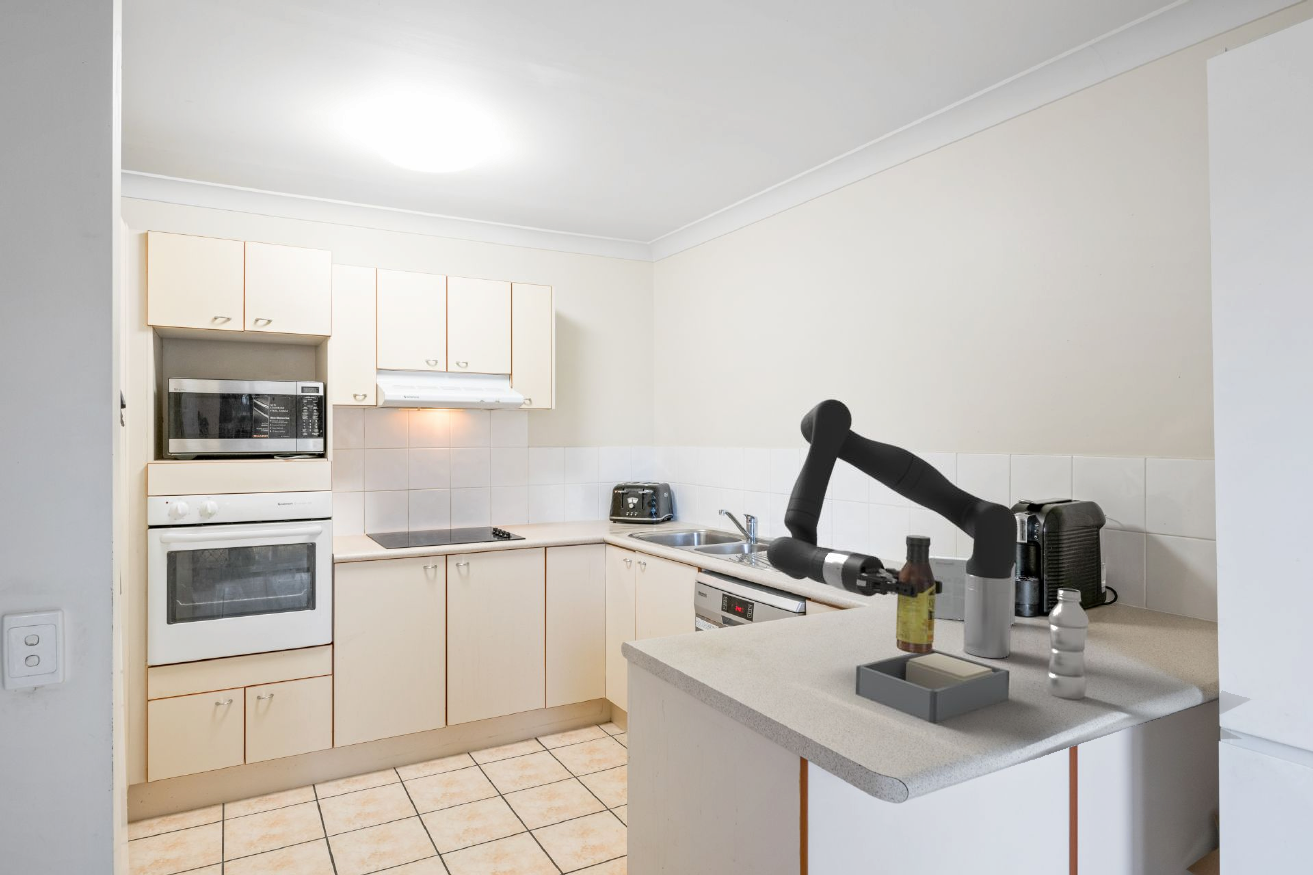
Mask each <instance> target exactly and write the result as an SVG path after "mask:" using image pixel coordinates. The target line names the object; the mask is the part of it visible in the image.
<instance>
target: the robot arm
mask: <svg viewBox="0 0 1313 875" xmlns="http://www.w3.org/2000/svg"><path fill="white" fill-rule="evenodd" d="M852 419H853V418H852V413H851V411H850V409H849V408H848V406H847V405H846V404H845V403H843V402H842V401H841V400H837V399H831V398H830V399H825V400H823V401H821V402H819V403H818V404H816V405H814V407H813V408H811V409H810V410H809V412H807V413H806V415H804V416H803V417H802V420H801V422H800V431H801V435H802V436H803V438H804V440H805V441H806V442H807V443H808V444H809V445H810V446H809V448H808V453H807V454H806V458H805V462H804V463H803V465H802V468H801V470H800V472H799V474H798V476H797V479H796V480H795V483H794V485H793V488H792V491H791V492H790V497H789V499H788V504H787V507H786V510H785V514H784V520H783V523H784V526H785V527H786V529H787V530H788V531H789V532H790V534H791V536H780V537H777V538H775V539H773V540H772V541H771V542H770V543H769V545H768V546H767V549H766V558H767V561H768V563H769V565H770V566H772V567H773V568H774V569H776V570H777V571H779V572H781V573H783V574H785V575H786V576H788V577H790V578H792V579H794V580H797V581H798V580H804V579H806V578H808V579H809V580H812V581H814V582H817V583H819V584H823V585H826V586H831V587H834V588H835V589H838V590H841V591H844V592H848V593H853V594H856V595H861V596H865V597H873V596H875V595H877V594H879V595H882V596H885V595H889V594H890V595H893V596H895V595H898V594H899V595H903V596H908V597H912V598H915V597H917V596H918V586H917V585H916V584H911V583H907V582H903V581H899V574H900V571H901V570H899V569H896V568H894V567H885V566H884V564H883V562H882V561H881V559H880V558H878V557H877V556H874V555H869V554H865V553H860V552H854V551H849V550H841V549H840V550H838V549H834V548H831V547H830V548H829V547H823V546H818V524H819V521H820V517H821V513H822V510H823V506H824V505H823V504H824V503H825V502H824V501H825V497H826V492H827V491H828V487H829V486H828V485H829V483H830V481H831V480H830V479H831V476H832V473H833V470H834V467H835V464H836V462H837V460H838V459H839V460H842V461H843V462H846V463H847V464H850V465H851V466H853V467H854V468H856V469H858V470H860V471H861V472H862V473H863V474H866V475H868V476H869V477H871V478H873V479H874V480H876V481H878V482H879V483H880V484H883V485H884V486H886V487H887V488H889V489H890V490H892V491H894V492H895V493H896V494H899V495H900V496H901V497H903V498H906V499H907V500H910V501H912V502H913V503H914V504H915V503H916V504H917V505H919V506H922V507H924V508H926V509H928V510H931V511H933V512H935V513H936V514H938V515H940V516H942V517H943V518H945V519H946V520H948V521H949V522H950V523H952V524H953V525H954V526H956V527H957V528H958V529H960V530H961V531H962V532H964V533H965V534H966V535H967V536H969V537H970V538H971V539H973V543H972V544H973V546H972V547H973V548H972V554H971V557H970V559H969V560H968V561H967V563H966V584H965V586H966V587H965V618H964V621H963V622H964V624H963V626H964V627H963V651H964V652H965V653H968V654H970V655H972V656H976V657H983V658H992V659H1002V658H1003V657H1004V658H1007V657H1009V654H1010V653H1011V638H1012V637H1011V634H1012V625H1011V610H1010V598H1011V571H1012V568H1013V566H1014V564H1015V563H1016V558H1017V546H1018V522H1017V518H1016V515H1015V513H1014V512H1013V511H1012V510H1011V509H1010V508H1009V507H1008V506H1007V505H1003V504H1000V503H996V502H993V501H987V500H984V499H982V498H980V497H977V496H975V495H973V494H971V493H969V492H968V491H965V490H963V489H961V488H959V487H958V486H956V485H955V484H954V483H952V482H951V481H950V480H949V479H948V478H947V477H946V476H944V475H943V474H942V473H941V471H939V470H938V469H937V468H936V467H934V466H933V465H932V464H930V463H929V462H928V461H926V460H924V459H923V458H921V457H919V456H917V455H916V454H914V453H912V452H911V451H909V450H907V449H905V448H902V447H900V446H896V445H893V444H890V443H889V444H888V443H885V442H880V441H876V440H874V439H870V438H867V437H864V436H862V435H860V434H859V433H857V432H855V431H853V430H852V429H851V428H852V422H853V421H852ZM935 582H936V586H935V589H936V590H935V594H941V593H942V582H941V581H937V580H935ZM1009 652H1010V653H1009ZM1006 656H1007V657H1006ZM1004 658H1003V659H1004Z"/></svg>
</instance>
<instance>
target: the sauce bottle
mask: <svg viewBox="0 0 1313 875" xmlns="http://www.w3.org/2000/svg"><path fill="white" fill-rule="evenodd" d="M905 545H906V557H905V560H906V562H905V563H904V565H903V567H902V568H901V571H900V574H899V581H903V582H907V583H911V584H916V585H917V586H918V596H917V597H915V598H912V597H908V596H903V595H899V594H897V601H896V602H897V603H896V627H895V629H896V632H895V638H896V647H897V648H898V649H899V650H901V651H903V652H906V653H908V654H911V653H918V654H923V653H929V652H931V651H932V649H933V643H934V640H935V639H934V638H935V637H934V635H935V618H934V617H935V590H936V589H935V586H936V582H935V579H934V576H933V573H932V570H931V566H930V563H929V556H930V546H931V537H929V536H926V535H918V534H917V535H914V534H913V535H906V537H905Z"/></svg>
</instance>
